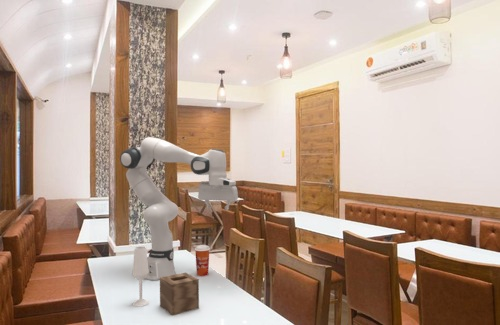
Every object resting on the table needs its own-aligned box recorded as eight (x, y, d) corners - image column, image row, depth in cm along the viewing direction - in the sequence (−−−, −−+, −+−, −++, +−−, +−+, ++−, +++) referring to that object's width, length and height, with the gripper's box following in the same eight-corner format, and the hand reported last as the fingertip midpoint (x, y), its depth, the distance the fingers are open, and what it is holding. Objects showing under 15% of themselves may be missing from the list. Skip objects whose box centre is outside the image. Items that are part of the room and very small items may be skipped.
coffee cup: (195, 277, 198) (195, 248, 198) (194, 272, 206) (193, 245, 206) (211, 275, 200) (211, 247, 200) (209, 271, 208) (208, 244, 208)
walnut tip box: (185, 299, 166) (185, 272, 166) (198, 308, 156) (198, 279, 156) (160, 305, 158) (159, 277, 159) (171, 315, 149) (171, 284, 149)
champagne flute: (142, 299, 167) (142, 245, 167) (152, 302, 162) (151, 247, 162) (129, 303, 161) (129, 247, 161) (138, 307, 157) (138, 250, 157)
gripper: (195, 181, 186) (196, 209, 186) (234, 182, 180) (234, 211, 180) (201, 181, 192) (201, 208, 192) (238, 181, 186) (239, 209, 186)
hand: (217, 209), depth 186 cm, fingers open, 8 cm apart
